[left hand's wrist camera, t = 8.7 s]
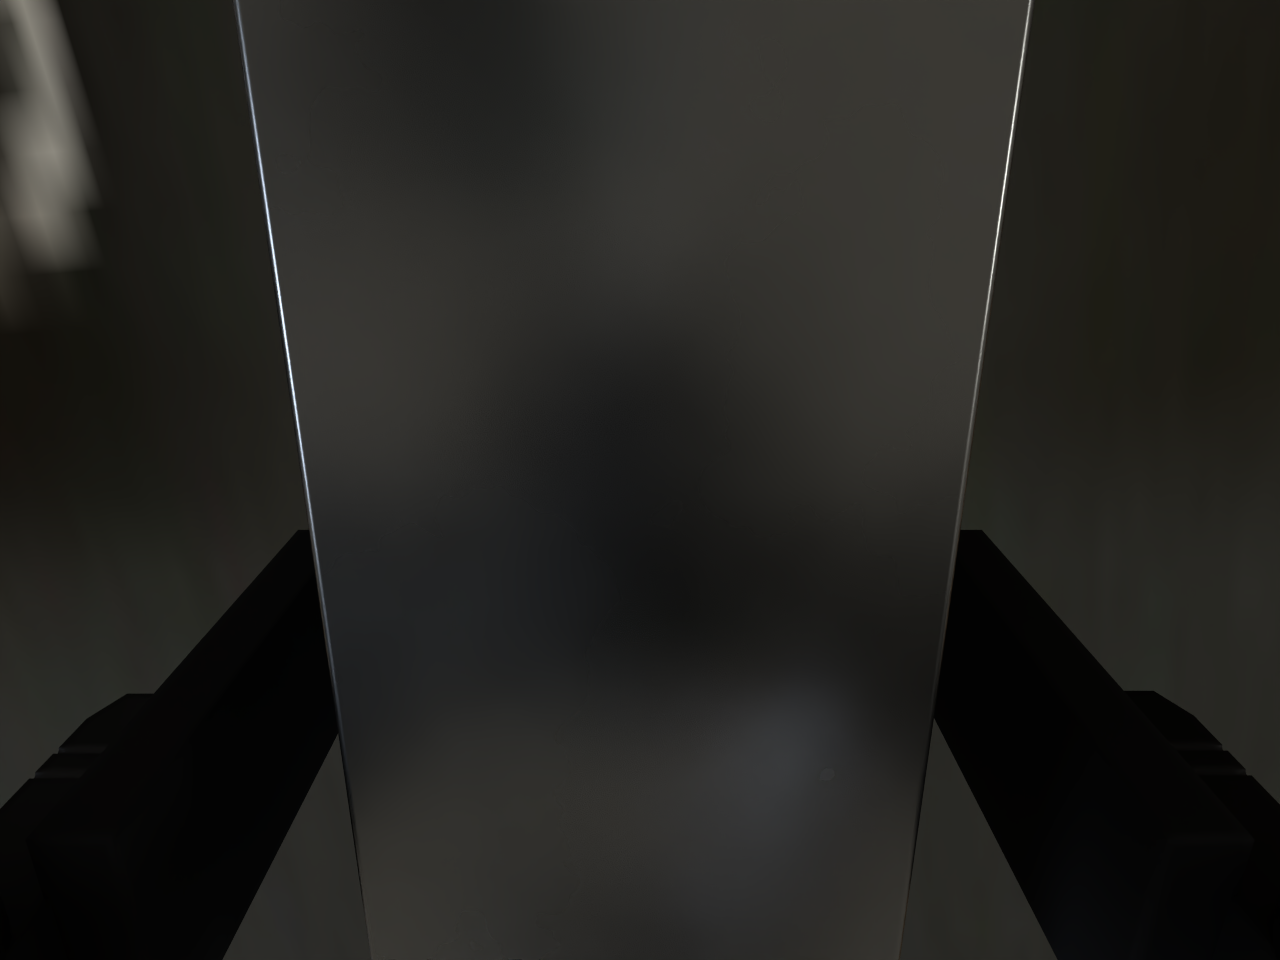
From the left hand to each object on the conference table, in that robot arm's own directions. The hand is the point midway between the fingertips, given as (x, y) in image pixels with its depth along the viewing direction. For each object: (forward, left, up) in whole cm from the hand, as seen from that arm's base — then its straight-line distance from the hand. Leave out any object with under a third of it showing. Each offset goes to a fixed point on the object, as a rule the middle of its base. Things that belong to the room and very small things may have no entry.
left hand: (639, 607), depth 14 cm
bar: (+11, +7, -2) cm, 13 cm away
